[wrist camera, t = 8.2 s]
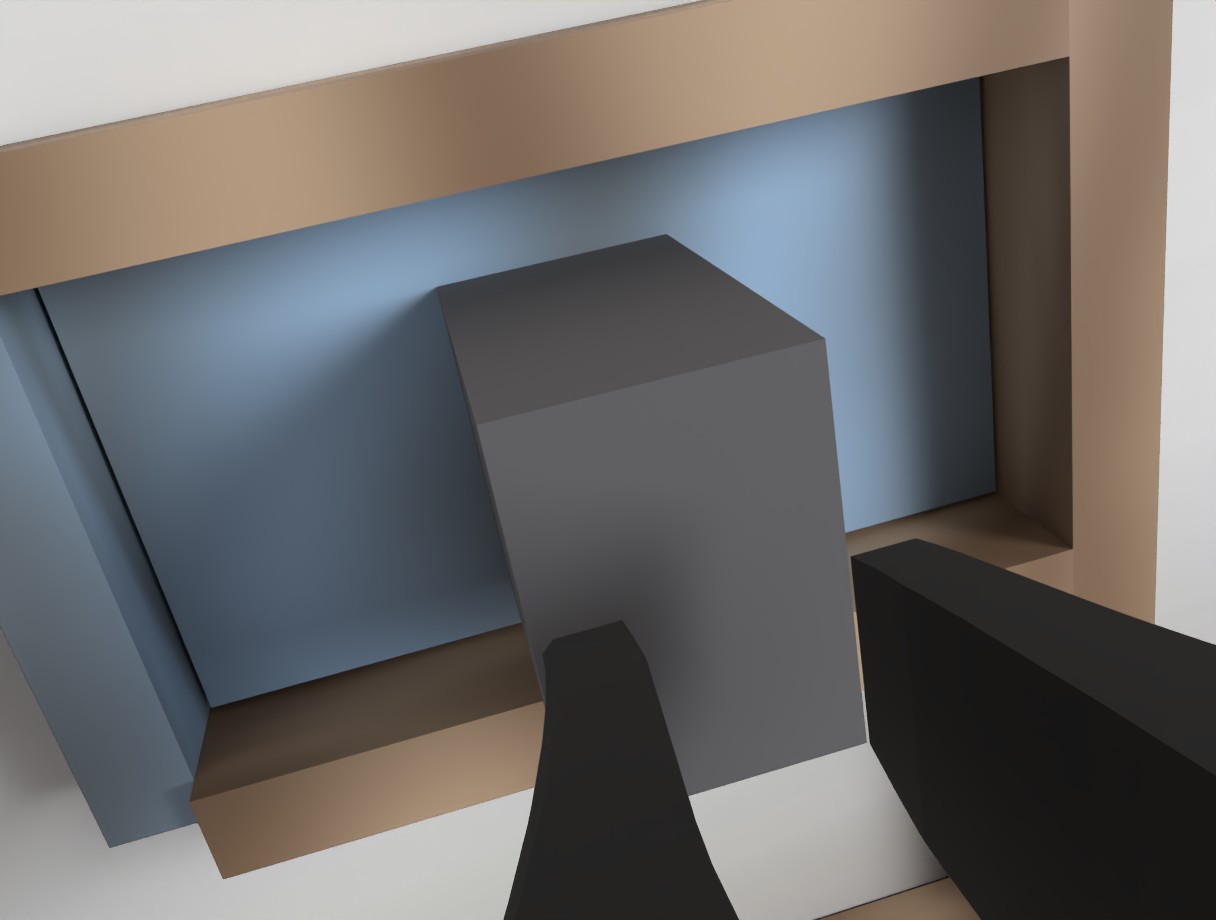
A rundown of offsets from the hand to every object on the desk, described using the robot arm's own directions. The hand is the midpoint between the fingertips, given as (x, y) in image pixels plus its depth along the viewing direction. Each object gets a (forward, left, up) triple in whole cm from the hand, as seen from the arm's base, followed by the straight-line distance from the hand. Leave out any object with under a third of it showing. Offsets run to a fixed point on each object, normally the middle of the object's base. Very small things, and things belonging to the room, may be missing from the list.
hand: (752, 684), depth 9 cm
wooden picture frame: (0, +5, -8) cm, 10 cm away
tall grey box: (0, 0, -8) cm, 8 cm away
